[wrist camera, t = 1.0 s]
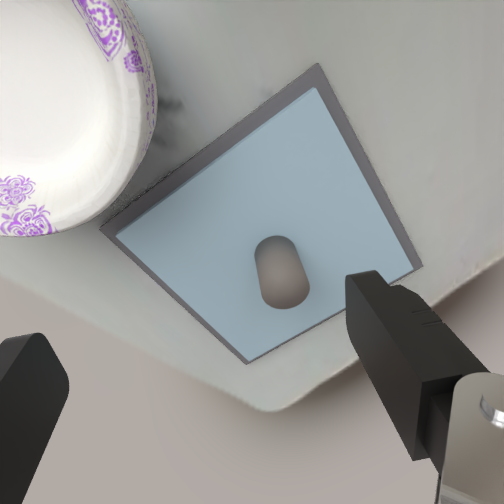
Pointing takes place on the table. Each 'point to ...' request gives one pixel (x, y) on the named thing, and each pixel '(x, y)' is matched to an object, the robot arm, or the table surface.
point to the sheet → (270, 231)
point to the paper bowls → (70, 111)
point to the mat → (232, 137)
